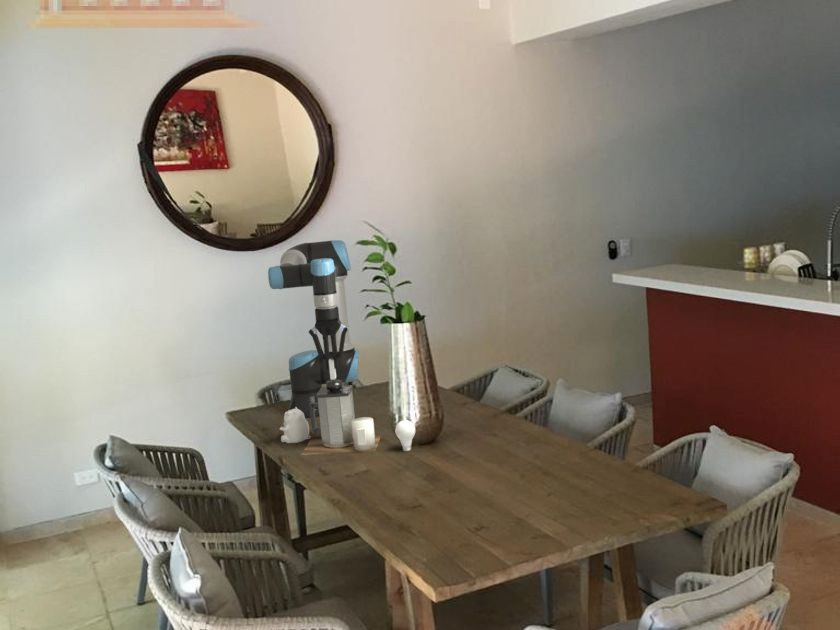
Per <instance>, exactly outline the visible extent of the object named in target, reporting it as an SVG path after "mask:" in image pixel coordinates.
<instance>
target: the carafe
mask: <svg viewBox="0 0 840 630" xmlns="http://www.w3.org/2000/svg"><path fill="white" fill-rule="evenodd" d="M353 387H354V386H353V385H351V384H349V385H342V389H339V390H337V391H330V390H327V387H326V386H322V387H321V389H320V390H319V392H318V393H317V395H316V398H318V403H310V404H309V406H310V415H311V417H310V423H311V432H312V434H313V435H315V434H317V435H318V434H321V439H322V443H323V446H324V447H326V448H344V447H349V446H352V445H354V444H353V433H352V423H351V421H352V420H353V419H356V417H355V415H356V414H355V408H354V407H355V404H354V396H353V395H354V394H353V389H354V388H353ZM316 407H319V415H318V416H319V424H320V426H319V427H320V428H317V420H316V419H317V418H316V416H315V409H314V408H316Z"/></svg>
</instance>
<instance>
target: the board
mask: <svg viewBox="0 0 840 630" xmlns="http://www.w3.org/2000/svg"><path fill="white" fill-rule="evenodd" d="M381 437H382V435H381V434H380V435H375V444H376V447H375V448H373V449H371V450H366V451H365V452H374V451H377V448H378V445H379V442H380V439H381ZM358 452H359V453H360V452H362V451H358V450H355V449H354V445H352V446H349V447H344V448H326V447H324V446H323V443H322V438H319V439H317V438H315V439H309V441H308V443H307V444H306V446H305V448H304V449H303V451H302V453H301V454H300V456H307V455H308V456H309V455H327V454H341V453H343V454H344V453H345V454H346V453H358Z"/></svg>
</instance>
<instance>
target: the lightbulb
mask: <svg viewBox="0 0 840 630" xmlns="http://www.w3.org/2000/svg"><path fill="white" fill-rule="evenodd" d="M394 431H395V435H396V437H397V438H398V439H399V441H400V444H401V446H402V451H403V452H409V451H411V450H412V443H413V438H414V437H415V434H416V426H415V425H414V423H413V422H412V421H410V420H409V419H408V420H407V419H403V420H400V421H399V422H398V423H397V424H396V425H395V429H394Z"/></svg>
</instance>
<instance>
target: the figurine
mask: <svg viewBox="0 0 840 630" xmlns="http://www.w3.org/2000/svg"><path fill="white" fill-rule="evenodd" d="M295 408H296V409H292V410H289V409H288V410H287V411H285V412H284V414H283V415H284V416H283V421H284V422H283V424H282V425H283V426H280V428H278V429H279V431H282V432H283V435H281V437H280V441H281V443H286V444H296V443H301V442H304V441H306V440H311V435H310V425H309V421H308V420H307V418H306V417H305V416H304V413H303V412H302V411H301V410H299V409H297V407H295Z"/></svg>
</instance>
